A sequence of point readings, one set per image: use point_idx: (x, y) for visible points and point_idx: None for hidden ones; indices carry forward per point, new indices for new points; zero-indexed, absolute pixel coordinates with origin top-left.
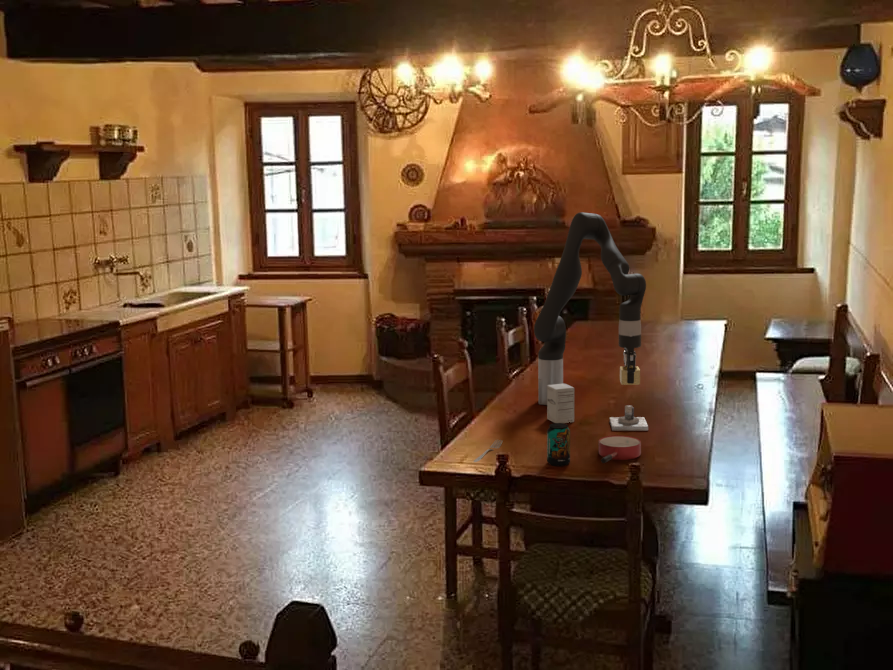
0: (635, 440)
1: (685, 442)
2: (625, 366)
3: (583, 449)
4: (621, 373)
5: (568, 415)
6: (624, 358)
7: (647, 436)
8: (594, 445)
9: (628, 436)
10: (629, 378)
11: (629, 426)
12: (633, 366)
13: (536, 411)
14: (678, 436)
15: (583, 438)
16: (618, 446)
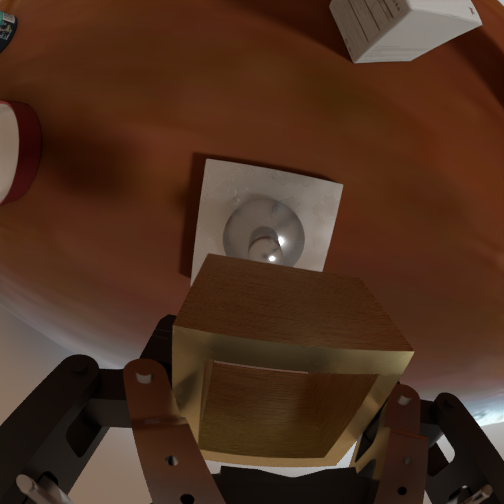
0: (3, 197)
1: (88, 329)
2: (386, 399)
3: (51, 64)
4: (184, 302)
5: (351, 33)
6: (378, 485)
7: (131, 258)
8: (70, 88)
9: (12, 182)
10: (153, 337)
11: (197, 223)
12: (92, 442)
13: None
14: (134, 335)
15: (137, 55)
16: (13, 151)
